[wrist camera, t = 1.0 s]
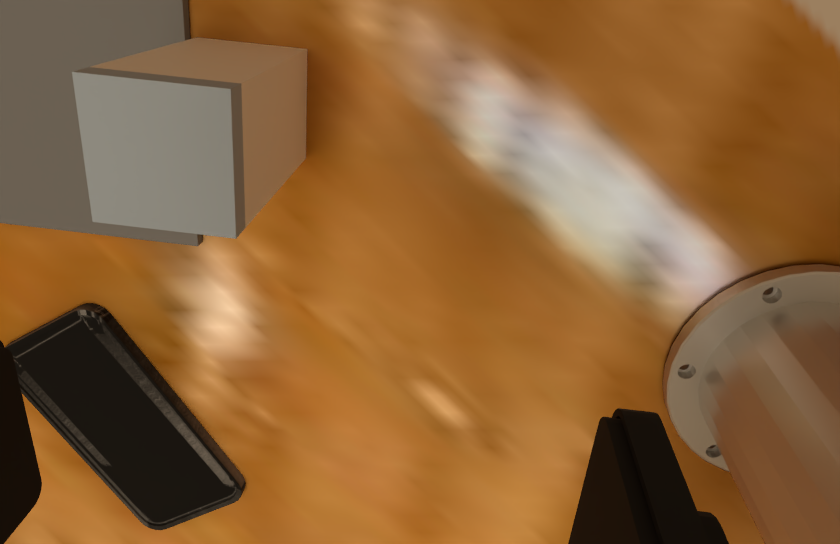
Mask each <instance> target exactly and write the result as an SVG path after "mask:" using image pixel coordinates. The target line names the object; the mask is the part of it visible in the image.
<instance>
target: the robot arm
mask: <svg viewBox="0 0 840 544" xmlns="http://www.w3.org/2000/svg"><path fill="white" fill-rule="evenodd" d="M663 393H664V402H665V405H666V407H667V410H668V413H669V416H670V418H671V421H672V423H673V425H674V427H675V429H676V431H677V432H678V434H679V436H680V437H681V439H682V440H683V441H684V442H685V443H686V444H687V445H688V447H689V448H690V449H691V450H692V451H693V452H695V453H696V454H697V455H698V456H700V457H701V458H702V459H703V460H705V461H707V462H709V463H711V464H713V465H715V466H717V467H719V468H721V469H723V470H725V471H729V472H730V473H731V475H732V477H733V479H734V481H735V483H736V485H737V487H738V489H739V491H740V493H741V496H742V498H743V500H744V502H745V504H746V506H747V508H748V510H749V512H750V514H751V516H752V518H753V520H754V522H755V524H756V526H757V528H758V530H759V532H760V534H761V536H762V539H763V541H764V543H765V544H840V266H833V265H824V264H813V265H794V266H789V267H784V268H780V269H775V270H770V271H766V272H764V273H761V274H758V275H756V276H753V277H750V278H748V279H745V280H742V281H741V282H739V283H737V284H735V285H733V286H732V287H730V288H728V289H726V290H725V291H723V292H721V293H719V294H718V295H717V296H715V297H714V298H713V299H712V300H710V301H709V302H708V303H707V304H705V305H704V306H703V307H701V308H700V309H699V310H698V311H697V312H696V313H695V315H694V316H693V317H692V318H691V319H690V320H689V321H688V322H687V323H686V325H685V326H684V327H683V328H682V330H681V332H680V333H679V335H678V337H677V338H676V340H675V341H674V343H673V345H672V347H671V350H670V352H669V355H668V358H667V361H666V363H665V368H664V376H663ZM41 486H42V482H41V476H40V472H39V468H38V463H37V459H36V454H35V450H34V446H33V441H32V437H31V432H30V428H29V424H28V419H27V415H26V411H25V406H24V402H23V397H22V393H21V389H20V384H19V380H18V375H17V371H16V367H15V362H14V358H13V355H12V352H11V351H10V350H9V349H7V348H4V345H3V343H2V342H1V341H0V544H4V543H5V541H6V540H7V539H8V538H9V537H10V535H11V534H12V533H13V532H14V530H15V529H16V528H17V527H18V525H19V524H20V523H21V522H22V520H23V519H24V518H25V517H26V516H27V514H28V513H29V512H30V511H31V509H32V508H33V507H34V505H35V504H36V502H37V500H38V498H39V495H40V492H41ZM568 544H729V543H728V541H727V538H726V536H725V534H724V531H723V529H722V527H721V525H720V523H719V522H718V520H717V518H716V517H715V516H714V515H712V514H711V513H708V512H700V511H697V509H696V507H695V504H694V502H693V499H692V497H691V494H690V492H689V489H688V486H687V484H686V481H685V479H684V476H683V474H682V471H681V469H680V466H679V464H678V461H677V459H676V456H675V454H674V451H673V449H672V446H671V444H670V441H669V439H668V436H667V434H666V431H665V428H664V426H663V423H662V421H661V419H660V417H659V415H658V414H657V413H654V412H645V411H636V410H628V409H619V408H618V409H616V410H615V412H614V413H613V416H612V418H610V417H602V418H601V419H600V422H599V425H598V428H597V432H596V436H595V440H594V444H593V448H592V452H591V456H590V460H589V464H588V468H587V472H586V476H585V480H584V484H583V488H582V492H581V496H580V500H579V504H578V508H577V512H576V515H575V519H574V523H573V527H572V531H571V535H570V539H569V543H568Z"/></svg>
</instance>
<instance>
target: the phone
mask: <svg viewBox="0 0 840 544" xmlns="http://www.w3.org/2000/svg"><path fill="white" fill-rule="evenodd" d="M5 348H7V349H9V350H10V351H11V352H12V355H13V358H14V362H15V367H16V371H17V375H18V380H19V384H20V389H21V392H22V394H23V395H24V396H25V397H26V398H27V399H28V400H29V401H30V402H31V403H32V404H33V405H34V407H35V408H36V409H37V410H38V411H39V412H40V413H41V414H42V415H43V416H44V417H45V418H46V420H47V421H48V422H49V423H50V424H51V425H52V426H53V427H54V428H55V429H56V430H57V431H58V433H59V434H60V435H61V436H62V437H63V438H64V439H65V440H66V441H67V442H68V443H69V445H70V446H71V447H72V448H73V449H74V450H75V451H76V452H77V453H78V454H79V455H80V456H81V458H82V459H83V460H84V461H85V462H86V463H87V464H88V465H89V466H90V467H91V468H92V469H93V471H94V472H95V473H96V474H97V475H98V476H99V477H100V478H101V479H102V480H103V481H104V482H105V484H106V485H107V486H108V487H109V488H110V489H111V490H112V491H113V492H114V493H115V494H116V495H117V497H118V498H119V499H120V500H121V501H122V502H123V503H124V504H125V505H126V506H127V507H128V509H129V510H130V511H131V512H132V513H133V514H134V515H135V516H136V517H137V518H138V519H139V520H140V522H141V523H143V524H144V525H145V526H147V527H149V528H151V529H155V530H164V529H167V528H170V527H172V526H175V525H178V524H180V523H183V522H185V521H188V520H190V519H193V518H196V517H198V516H201V515H203V514H206V513H209V512H211V511H214V510H216V509H219V508H221V507H224V506H227V505H229V504H232V503H234V502H236V501H238V500H239V498H240V497H241V495H242V493H243V490H244V488H245V484H246V483H245V479H244V477H243V475H242V474H241V473H240V472H239V470H238V469H237V468H236V467H235V466H234V464H233V463H232V462H231V461H230V459H229V458H228V457H227V456H226V454H225V453H224V452H223V451H222V450H221V448H220V447H219V446H218V445H217V443H216V442H215V441H214V440H213V439H212V437H211V436H210V435H209V434H208V432H207V431H206V430H205V429H204V428H203V426H202V425H201V424H200V423H199V421H198V420H197V419H196V418H195V416H194V415H193V414H192V413H191V412H190V410H189V409H188V408H187V407H186V405H185V404H184V403H183V402H182V401H181V399H180V398H179V397H178V396H177V394H176V393H175V392H174V391H173V390H172V388H171V387H170V386H169V385H168V383H167V382H166V381H165V380H164V378H163V377H162V376H161V375H160V374H159V372H158V371H157V370H156V369H155V367H154V366H153V365H152V364H151V363H150V361H149V360H148V359H147V358H146V356H145V355H144V354H143V353H142V352H141V350H140V349H139V348H138V347H137V345H136V344H135V343H134V342H133V340H132V339H131V338H130V337H129V336H128V334H127V333H126V332H125V331H124V329H123V328H122V327H121V326H120V325H119V323H118V322H117V321H116V320H115V318H114V317H113V316H112V315H111V314H110V313H109V312H108V311H107V310H106V309H105V308H103V307H102V306H100V305H97V304H93V303H86V304H83V305H80V306H78V307H77V308H75V309H73V310H71V311H69V312H67V313H65V314H63V315H61V316H60V317H58V318H56V319H54V320H52V321H50V322H48V323H46V324H45V325H43V326H41V327H39V328H37V329H35V330H33V331H31V332H29V333H28V334H26V335H24V336H22V337H20V338H18V339H16V340H14V341H12V342H11V343H10V344H8V345H7V346H6V347H5Z"/></svg>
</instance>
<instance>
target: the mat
mask: <svg viewBox="0 0 840 544" xmlns="http://www.w3.org/2000/svg"><path fill="white" fill-rule="evenodd" d="M189 39H190V25H189V8H188V0H0V223H6V224H15V225H23V226H32V227H40V228H48V229H57V230H65V231H74V232H82V233H91V234H99V235H108V236H116V237H125V238H133V239H142V240H150V241H159V242H167V243H175V244H184V245H192V246H199V245H200V244H201V243H202V235H201V234H192V233H184V232H175V231H167V230H158V229H150V228H141V227H132V226H124V225H115V224H107V223H98V222H93V221H92V214H91V207H90V199H89V192H88V185H87V178H86V170H85V163H84V156H83V149H82V141H81V134H80V127H79V120H78V113H77V105H76V98H75V91H74V84H73V76H72V72H73V71H77V70H80V69H84V68H87V67H91V66H95V65H98V64H102V63H106V62H109V61H113V60H116V59H120V58H124V57H127V56H131V55H135V54H138V53H142V52H145V51H149V50H153V49H156V48H160V47H164V46H167V45H171V44H174V43H178V42H182V41H185V40H189Z"/></svg>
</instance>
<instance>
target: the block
mask: <svg viewBox="0 0 840 544" xmlns="http://www.w3.org/2000/svg"><path fill="white" fill-rule="evenodd" d="M72 76H73V84H74V91H75V98H76V105H77V113H78V120H79V127H80V134H81V141H82V149H83V156H84V163H85V170H86V178H87V185H88V192H89V199H90V207H91V214H92V221H93V222H98V223H107V224H115V225H124V226H132V227H141V228H150V229H158V230H167V231H175V232H184V233H192V234H201V235H209V236H218V237H227V238H235V239H236V238H237V237H238V236H239V235H240V233H241V232H242V231H243V230H244V229H245V228H246V227H247V225H248V224H249V223H250V222H251V221H252V220H253V218H254V217H255V216H256V215H257V214H258V213H259V212H260V210H261V209H262V208H263V207H264V206H265V205H266V204H267V202H268V201H269V200H270V199H271V198H272V197H273V195H274V194H275V193H276V192H277V191H278V190H279V189H280V187H281V186H282V185H283V184H284V183H285V182H286V181H287V179H288V178H289V177H290V176H291V175H292V174H293V172H294V171H295V170H296V169H297V168H298V167H299V166H300V164H301V163H302V162H303V161H304V160H305V159H306V117H307V49H303V48H294V47H284V46H275V45H265V44H256V43H247V42H237V41H228V40H219V39H209V38H200V37H196V38H193V39H189V40H185V41H182V42H178V43H174V44H171V45H167V46H164V47H160V48H156V49H153V50H149V51H145V52H142V53H138V54H135V55H131V56H127V57H124V58H120V59H116V60H113V61H109V62H106V63H102V64H98V65H95V66H91V67H87V68H84V69H80V70H77V71H73V72H72Z"/></svg>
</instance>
